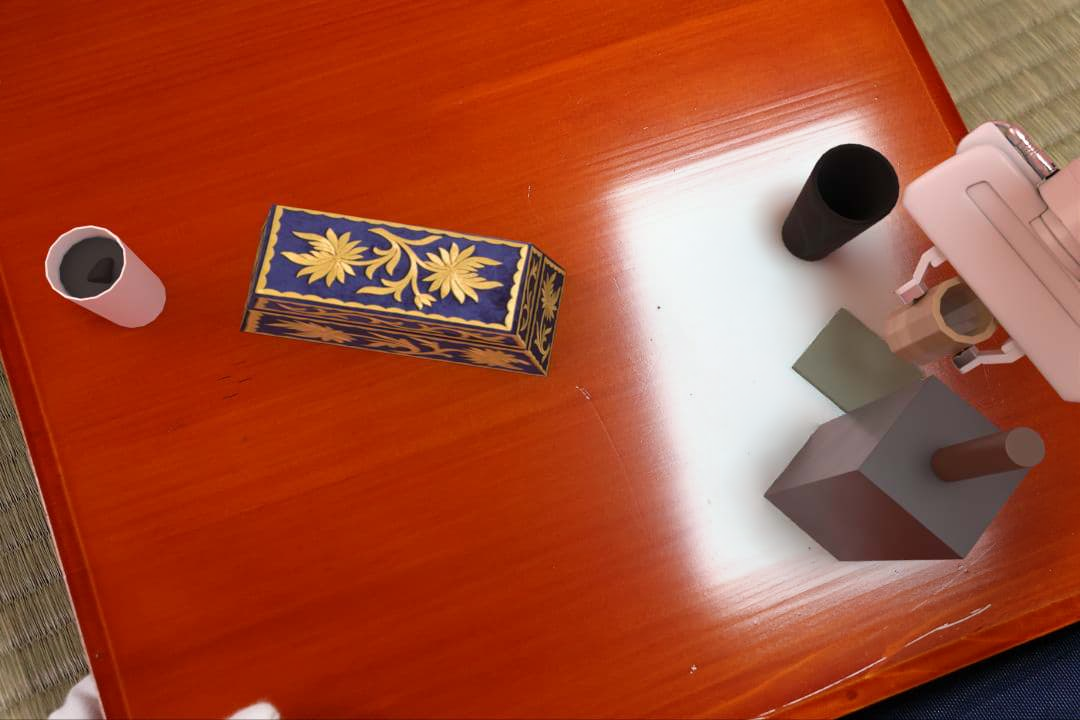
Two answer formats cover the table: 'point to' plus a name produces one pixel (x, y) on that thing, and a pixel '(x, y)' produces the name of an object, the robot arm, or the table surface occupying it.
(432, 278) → the decorative box
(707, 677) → the table surface
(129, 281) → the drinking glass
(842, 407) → the felt coaster
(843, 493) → the peg stand
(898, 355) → the orange hollow cylinder
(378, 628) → the table surface
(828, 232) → the cup
